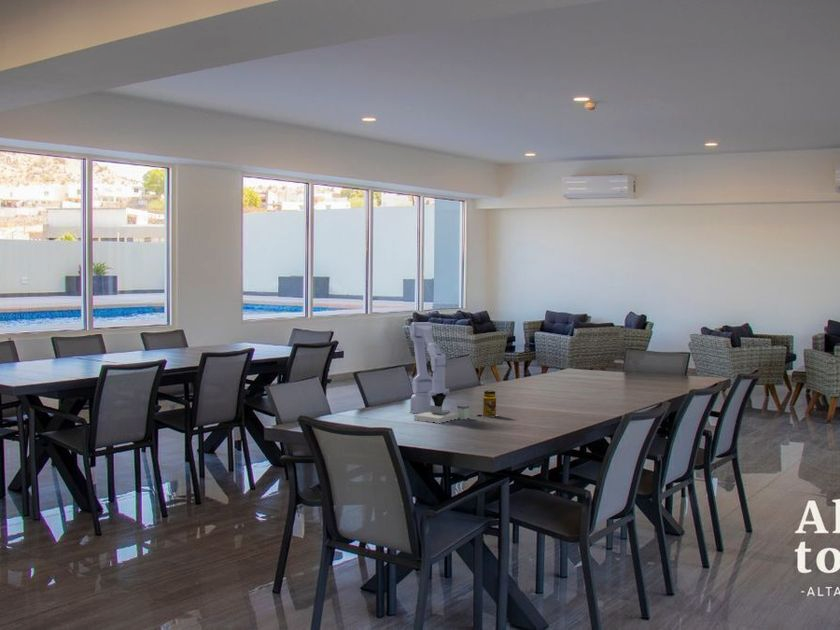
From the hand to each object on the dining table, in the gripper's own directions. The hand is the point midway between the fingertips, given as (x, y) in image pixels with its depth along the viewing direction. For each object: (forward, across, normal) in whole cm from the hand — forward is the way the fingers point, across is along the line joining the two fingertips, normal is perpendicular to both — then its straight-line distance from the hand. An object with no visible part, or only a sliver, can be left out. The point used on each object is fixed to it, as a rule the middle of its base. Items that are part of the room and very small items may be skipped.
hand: (438, 410), depth 390 cm
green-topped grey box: (+4, +9, -8) cm, 13 cm away
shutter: (+1, +1, 0) cm, 2 cm away
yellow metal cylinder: (+4, +23, -13) cm, 27 cm away
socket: (+4, -1, 0) cm, 4 cm away
